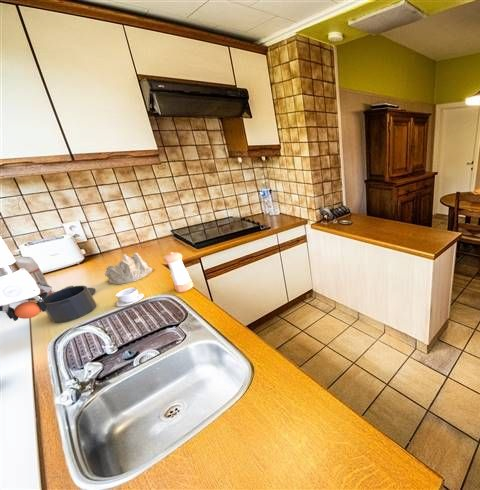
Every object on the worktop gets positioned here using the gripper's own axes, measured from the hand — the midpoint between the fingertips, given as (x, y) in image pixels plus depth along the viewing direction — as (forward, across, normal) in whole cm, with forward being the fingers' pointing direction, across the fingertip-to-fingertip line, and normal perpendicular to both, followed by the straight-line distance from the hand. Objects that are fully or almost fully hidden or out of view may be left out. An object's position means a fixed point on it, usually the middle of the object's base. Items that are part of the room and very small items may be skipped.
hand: (30, 314), depth 95 cm
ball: (-2, 0, 0) cm, 2 cm away
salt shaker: (+11, +46, 0) cm, 47 cm away
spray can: (+13, -4, +52) cm, 53 cm away
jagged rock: (+12, +30, +38) cm, 49 cm away
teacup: (+12, +26, +8) cm, 29 cm away
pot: (+12, +8, +16) cm, 21 cm away
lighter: (+12, -1, +43) cm, 44 cm away
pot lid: (+11, +8, +33) cm, 35 cm away
